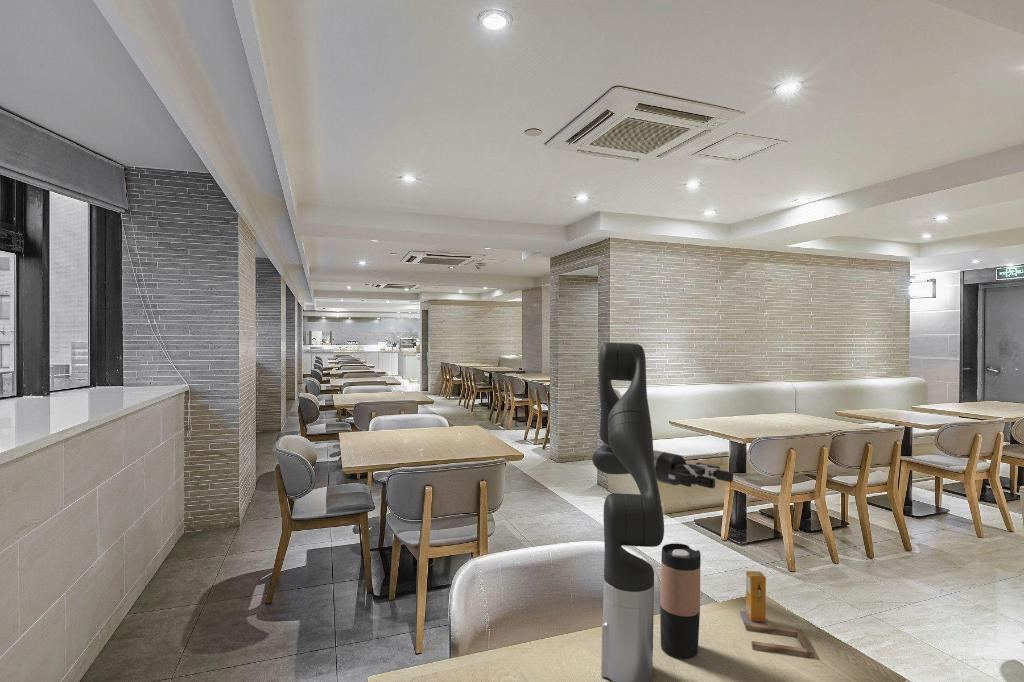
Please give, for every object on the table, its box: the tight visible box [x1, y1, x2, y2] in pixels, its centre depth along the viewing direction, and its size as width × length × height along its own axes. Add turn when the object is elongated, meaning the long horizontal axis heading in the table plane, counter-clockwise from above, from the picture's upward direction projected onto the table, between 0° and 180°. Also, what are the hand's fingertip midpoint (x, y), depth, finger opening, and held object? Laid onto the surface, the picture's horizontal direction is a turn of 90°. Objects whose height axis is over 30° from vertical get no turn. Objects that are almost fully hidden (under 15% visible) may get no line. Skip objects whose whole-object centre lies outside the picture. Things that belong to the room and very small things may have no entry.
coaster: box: [739, 610, 770, 626], centre depth 119 cm, size 5×5×1 cm
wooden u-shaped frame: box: [744, 622, 815, 659], centre depth 111 cm, size 11×8×1 cm
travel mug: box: [659, 542, 702, 660], centre depth 108 cm, size 8×8×20 cm
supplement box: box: [745, 570, 767, 622], centre depth 119 cm, size 3×3×10 cm
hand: (723, 480), depth 123 cm, fingers open, 8 cm apart
